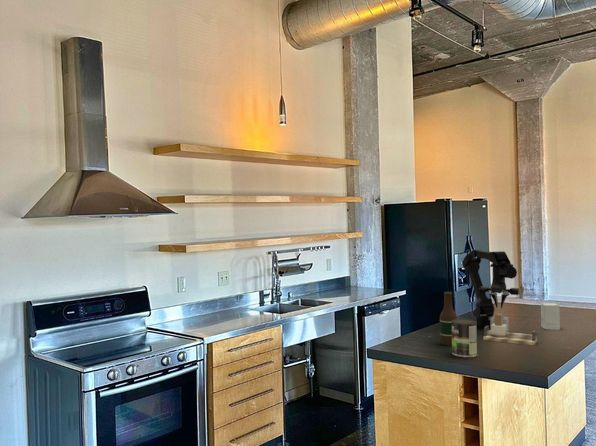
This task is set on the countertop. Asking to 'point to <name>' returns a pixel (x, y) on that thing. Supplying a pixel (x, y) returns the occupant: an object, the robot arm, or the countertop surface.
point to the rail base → (509, 340)
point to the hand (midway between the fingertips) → (499, 307)
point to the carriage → (498, 325)
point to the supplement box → (550, 316)
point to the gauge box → (505, 321)
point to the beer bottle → (447, 320)
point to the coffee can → (464, 338)
